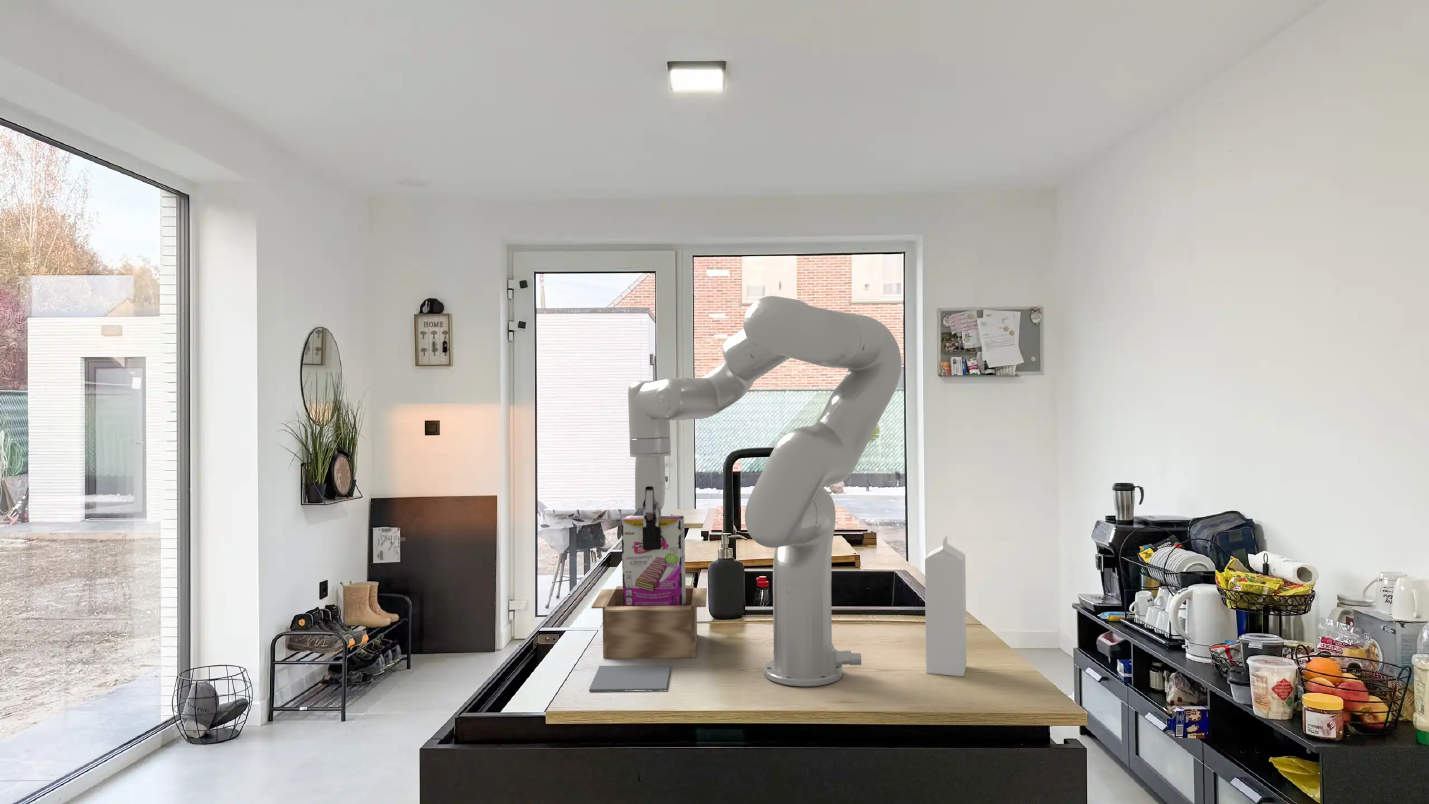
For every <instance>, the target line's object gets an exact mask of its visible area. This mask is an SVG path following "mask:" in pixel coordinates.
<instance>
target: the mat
mask: <svg viewBox="0 0 1429 804" xmlns="http://www.w3.org/2000/svg"><path fill="white" fill-rule="evenodd" d="M669 671H670V672H671V664H644V665H643V664H641V665H639V664H638V665H637V664H635V665H632V664H629V665H599V666H598V668H597V670H596V673H595V674H594V677H593V680H592V682H591V684H590V686H589V689H588V692H589V691H590V692H589V693H597V692H598V691H600V692H598V693H602V692H603V691H605V692H606V691H621V692H626V691H625V690H666V691H667V688H668V682H669V677H670V676H669V675H670V672H669ZM593 691H595V692H593ZM605 692H604V693H605ZM606 693H607V692H606Z"/></svg>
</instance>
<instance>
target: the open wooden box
mask: <svg viewBox="0 0 1429 804" xmlns="http://www.w3.org/2000/svg"><path fill="white" fill-rule="evenodd" d="M694 586H695V585H692V584H691V585H686V602H685V604H684V605H683V606H623V585H619V586H616V588H607V589H605V588H603V589H601V590H600V592H599V593H598V595H597V597H596V599H595V600H594V601H593V603H592V605H591V609H602V657H603V659H612V660H613V659H671V658H672V659H673V658H674V659H675V658H676V659H677V658H679V659H680V658H681V659H682V658H683V659H684V658H685V659H686V658H688V659H689V658H690V659H691V658H696V654H697V653H696V652H697V638H698V611H697V610H698V608H707V594H708V588H706V587H699V588H698V587H694Z"/></svg>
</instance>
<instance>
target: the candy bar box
mask: <svg viewBox="0 0 1429 804" xmlns="http://www.w3.org/2000/svg"><path fill="white" fill-rule="evenodd" d="M620 520H621V521H620V522H621V559H622V560H621V563H622V567H621V568H622V586H623V606H683V605H684V604H685V602H686V552H685V551H686V550H685V549H686V547H685V545H686V543H685V515H677V514H675V515H674V514H673V515H661V516H659V527H660V528H661V549H659V550H644V549H643V515H626V516H624V517H622V518H621V519H620ZM655 520H656V519H655Z"/></svg>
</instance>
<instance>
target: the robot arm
mask: <svg viewBox="0 0 1429 804" xmlns="http://www.w3.org/2000/svg"><path fill="white" fill-rule="evenodd" d="M742 327H743V328H742V329H740V330H739V331H738V332H736V333H734V334H733V335H731V336H730V337H728V338H727V339H726V340H725V342H724V343H723V346H722V355H723V359H724V360H723V361H724V362H723V363H722V364H721V365H719V366H718V367H716V368H715V369H713V370H712V371H710V372H709V373H707V374H705V375H703V376H702V377H669V378H663V379H661V380H644V381H643V380H642V381H641V380H640V381H634V382H632V383H630V384H629V386H628V389H627V391H628V392H627V397H628V399H627V400H628V405H627V406H628V429H629V431H628V432H629V433H628V434H629V457H631V458H635V460H634V461H635V462H634V463H635V464H634V497H635V498H634V510H635V511H636V512H640V511H641V510H642V512H643V513H642V516H643V549H644V550H659V549H661V528H660V527H659V516H662V509H663V507H664V506H665V501H666V500H665V495H666V465H665V464H666V459H665V457H669V456H671V455H672V452H671V451H672V448H671V447H672V444H671V421H685V420H703V419H708V418H711V417H713V416H715V415H717V414H719V413H720V412H722V411H724V410H725V409H727V408H729V407H730V406H732V405H733V404H735V403H737V402H738V401H739V400H741V399H742V398H743V397H744V396H745V395H746V394H747V392H748V391H749V390H750V389H751V387H753V385H754V382H755V381H757V380H758V379H760V378H761V377H763V376H764V375H766V374H768V373H769V372H771V371H773V370H774V369H775V368H777V367H778V366H781V364H783V363H784V362H787V361H788V360H791V359H794V360H798V361H801V362H805V363H809V364H811V365H815V366H820V367H824V368H825V367H826V368H832V369H833V368H834V369H835V368H836V369H847V372H846V375H845V376H844V378H843V379H842V380H841V381H840V382H839V384H838V385H837V386H836V387H835V389H834V390H833V392H832V393H831V395H830V396H829V398H828V400H827V403H826V405H825V407H824V409H823V411H822V413H821V414H820V416H819V417H818V420H817V421H816V422H815V423H814V424H813V425H809V426H802V427H800V426H799V427H797V428H794V429H792V430H790V431H788V432H787V433H786V434H784V435H783V436H782V437H781V438H780V440H778V442H777V443H776V445H775V446H774V448H773V450H772V452H771V453H770V455H769V457H768V458H767V461H766V462H765V465H764V467H763V469H762V471H761V473H760V475H759V477H758V479H757V481H756V483H755V486H754V487H753V489H752V491H751V493H750V495H749V496H748V500H747V503H746V506H745V511H744V512H745V513H744V523H745V527H746V530H747V532H748V534H749V536H750V537H751V539H752V540H753V541H754V542H755V543H756V544H758V545H760V546H762V547H765V548H770V549H772V548H773V549H774V555H773V562H772V563H773V564H772V597H773V598H772V607H773V609H772V613H773V616H772V619H773V623H772V624H773V625H772V626H773V660H771V661H768V663H767V664H766V665H764V670H763V671H764V676H765V677H766V678H767V679H768V680H770V681H772V682H774V683H777V684H781V685H787V686H791V687H795V686H796V687H816V686H824V685H830V684H832V683H835V682H837V681H839V680H840V679H841V678H842V676H843V672H842V671H843V668H842V667H843V665H845V666H846V665H847V666H861V665H862V654H861V653H860V652H852V650H850V649H847V650H846V649H845V650H838V649H836V648H835V647H834V644H833V641H832V640H833V638H832V637H833V636H832V635H833V634H832V633H833V632H832V630H833V629H832V623H833V621H832V620H833V619H832V618H833V617H832V557H833V554H832V553H833V541H834V533H835V530H836V529H835V527H836V514H837V513H836V512H837V511H836V507H835V502H834V499H833V497H832V496H831V494H830V492H829V491H828V490H827V489H826V488H825V487H826V486H832V485H836V484H839V483H841V482H844V481H845V480H847V479H848V478H850V476H852V473H853V472H854V470H855V469H856V467H857V466H858V464H859V460H860V459H861V456H862V455H863V453H864V451H865V450H866V448H867V445H868V443H869V441H870V440H871V438H872V436H873V434H874V432H875V430H876V428H877V426H878V424H879V422H880V420H881V417H882V416H883V414H884V412H885V410H886V409H887V408H888V405H889V404H890V402H891V400H892V398H893V396H894V394H895V391H896V389H897V387H898V385H899V382H900V377H901V373H902V354H901V351H900V346H899V344H898V342H897V340H896V338H895V335H894V334H893V333H892V332H891V331H890V329H889V328H888V327H887V325H885V324H883V323H882V322H881V321H879V320H877V319H875V318H873V317H871V316H867V315H864V314H863V315H862V314H856V313H849V312H843V311H835V310H832V309H831V310H830V309H825V308H821V307H817V306H813V305H809V304H808V303H806V302H804V301H802V300H799V299H795V298H789V297H782V296H776V295H770V296H769V295H767V296H763V297H762V298H759V299H757V300H755V301H754V302H753V303H752V304H751V305H750V306H749V308H748V309H747V311H746V313H745V314H744V317H743V326H742ZM655 519H656V520H655Z"/></svg>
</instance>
